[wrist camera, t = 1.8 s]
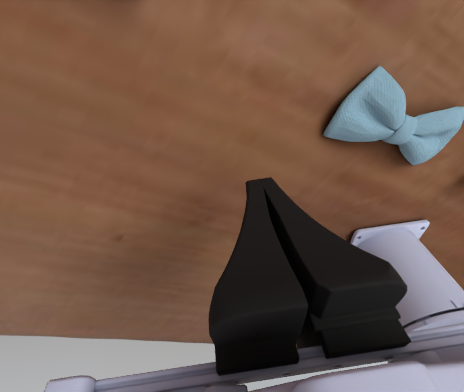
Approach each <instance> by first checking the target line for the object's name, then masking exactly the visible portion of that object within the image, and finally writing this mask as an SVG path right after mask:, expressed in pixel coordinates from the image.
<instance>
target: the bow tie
mask: <svg viewBox="0 0 464 392" xmlns="http://www.w3.org/2000/svg"><path fill="white" fill-rule="evenodd" d="M405 109H406V98H405V94H404V91H403V90H402V88H401V87H400V86H399V85H398V83H397V82H396V81H395V80H394V78H393V77H392V76H391V75H390V74H389V73H388V72H386V71H385V70H384V69H383V68H382V67H381V66H378V67H377V68H376V69H375V70H374V71H373V72H372V73H370V74H369V75H368V76H367V77H366V78H365V79H364V80H363V81H362V82H361V83H360V84H359V85H358V86H357V87H356V88H355V89H354V90H353V91H352V92H351V93H350V94H349V95H348V96H347V97H346V98H345V100H344V101H343V102H342V104H341V105H340V106H339V108H338V110H337V111H336V113H335V115H334V116H333V118H332V120H331V121H330V123H329V125H328V126H327V128H326V130H325V132H324V136H326V137H329V138H333V139H338V140H343V141H349V142H370V141H377V140H382V141H384V142H387V143H390V144H397V145H398V146H399V148H400V151H401V153H402V154H403V156H404V157H405V158H406V159H407V160H408V161H409V162H410V163H411V164H412V165H417V164H421V163H423V162H425V161H427V160H429V159H430V158H432V157H433V156H435V155H436V154H437V153H438V152H439V151H440V150H442V149H443V148H444V146H445V145H446V144H447V143H448V142H449V140H450V139H451V138H452V137H453V136H454V135H455V134H456V133H457V132H458V130H459V129H460V127H461V125H462V123H463V119H464V107H458V106H457V107H452V108H449V109H445V110H441V111H435V112H431V113H427V114H421V115H418V116H416V117H411V116H408V115H406V114H405Z"/></svg>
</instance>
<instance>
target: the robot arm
mask: <svg viewBox="0 0 464 392" xmlns="http://www.w3.org/2000/svg"><path fill="white" fill-rule="evenodd" d="M246 193H247V200H246V208H245V214H244V218H243V223H242V227H241V230H240V233H239V237H238V239H237V242H236V245H235V248H234V250H233V253H232V255H231V257H230V259H229V261H228V264H227V266H226V268H225V270H224V272H223V274H222V276H221V277H220V279H219V281H218V283H217V285H216V287H215V290H214V293H213V297H212V301H211V305H210V311H209V334H210V337H211V339H212V341H213V343H214V345H215V355H216V362H212V363H205V364H199V365H192V366H186V367H180V368H173V369H166V370H161V371H154V372H147V373H141V374H134V375H128V376H121V377H116V378H108V379H102V380H95V379H94V378H93V377H90V376H73V377H67V378H61V379H54V380H50V381H49V382H48V383H47V385H46V387H45V390H44V392H248V391H247V386H246V385H236V384H243V383H249V382H256V381H262V380H268V379H274V378H281V377H287V376H294V375H300V374H306V373H313V372H319V371H326V370H332V369H339V368H344V367H351V366H358V365H364V364H371V363H376V362H383V361H388V364H382V365H376V366H370V367H363V368H357V369H350V370H344V371H338V372H331V373H326V374H321V375H316V376H312V377H309V378H307V379H302V380H298V381H293V382H289V383H284V384H280V385H275V386H271V387H266V388H262V389H258V390H253V391H249V392H464V291H463V289H462V288H461V287H460V286H459V285H458V284H457V283H456V281H455V280H454V279H453V278H452V277H451V276H450V275H449V273H448V272H447V271H446V270H445V269H444V268H443V267H442V266H441V264H440V263H439V262H438V261H437V260H436V259H435V258H434V256H433V255H432V254H431V253H430V252H429V251H428V250H427V248H426V247H425V246H424V245H423V244H422V243H421V242H420V241H419V238H420V237H421V236H422V234H423V233H424V231H425V230H426V228H427V227H428V225H429V224H430V223H429V222H428V221H427V220H419V221H413V222H406V223H399V224H392V225H385V226H379V227H372V228H365V229H359V230H356V231H355V232H354V234H353V237H352V239H351V242H350V243H349V242H347V241H345V240H344V239H342V238H341V237H339V236H337V235H336V234H334V233H332V232H331V231H329V230H328V229H326V228H325V227H323V226H322V225H321V224H319V223H318V222H317V221H315V220H314V219H313V218H311V217H310V216H309V215H308V214H307V213H305V212H304V211H303V210H302V209H301V208H300V207H299V206H298V205H296V204H295V203H294V202H293V201H292V200H291V199H290V198H289V197H288V196H287V195H286V194H285V193H284V191H283V190H282V189H281V188H280V187H279V186H278V185H277V184H276V182H275V181H274V180H273V179H272V178H271V177H270V178H264V179H257V180H250V181H247V182H246ZM296 344H297V347H296Z"/></svg>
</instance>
